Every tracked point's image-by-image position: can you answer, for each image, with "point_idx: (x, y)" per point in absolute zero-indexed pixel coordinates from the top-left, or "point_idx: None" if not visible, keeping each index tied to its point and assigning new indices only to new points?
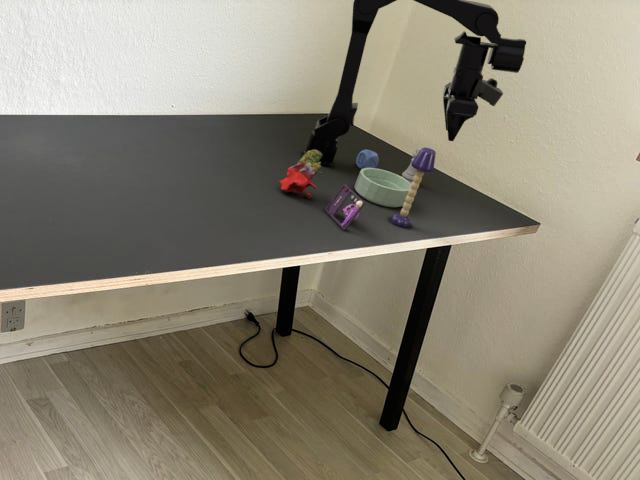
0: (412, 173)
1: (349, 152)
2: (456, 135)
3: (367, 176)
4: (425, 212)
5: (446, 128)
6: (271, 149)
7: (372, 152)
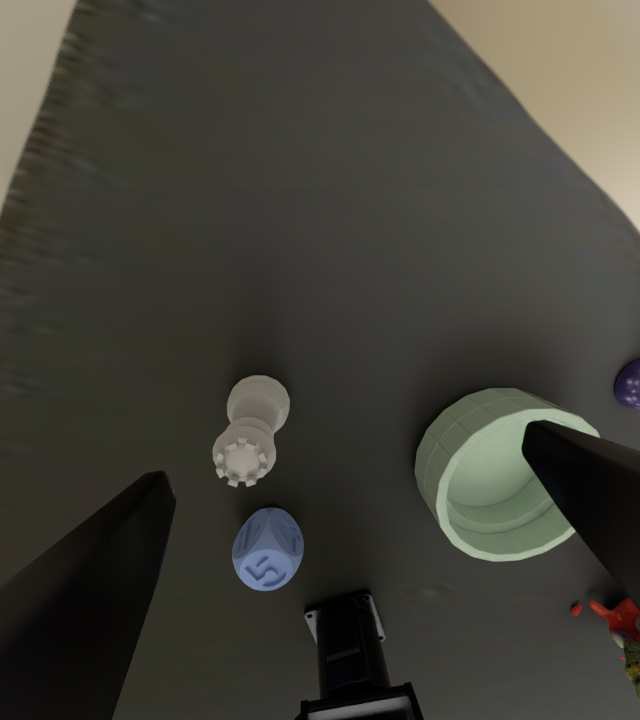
0: (277, 415)
1: (171, 581)
2: (621, 446)
3: (454, 523)
4: (501, 323)
5: (171, 515)
6: None
7: (245, 564)
